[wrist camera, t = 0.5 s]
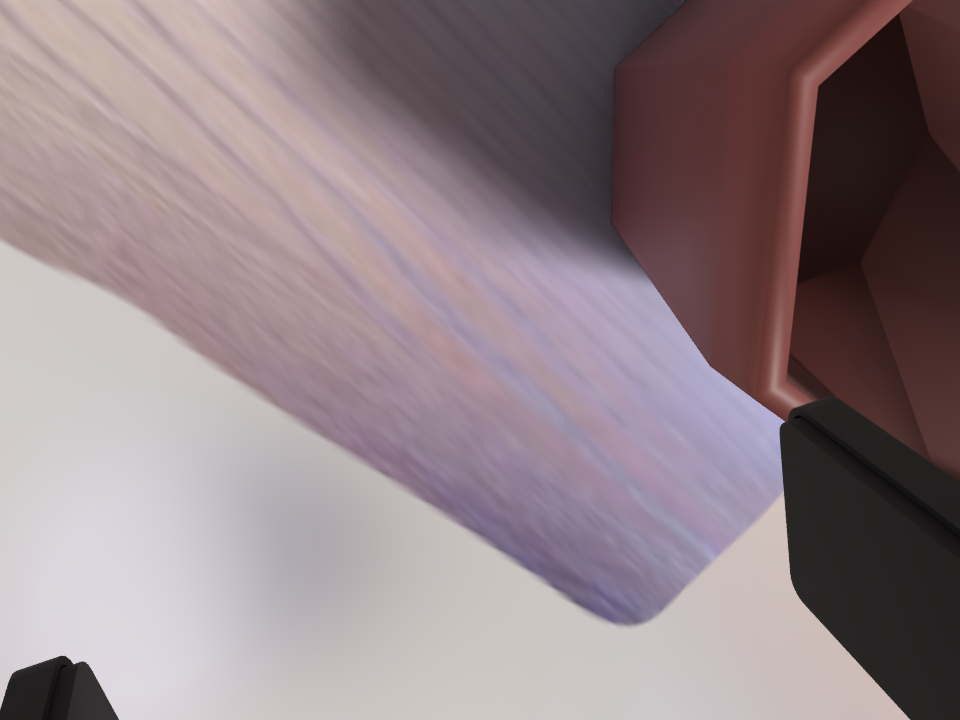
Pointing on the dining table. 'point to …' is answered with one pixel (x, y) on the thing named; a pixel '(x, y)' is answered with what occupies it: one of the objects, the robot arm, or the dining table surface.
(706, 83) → the bucket
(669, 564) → the dining table surface
